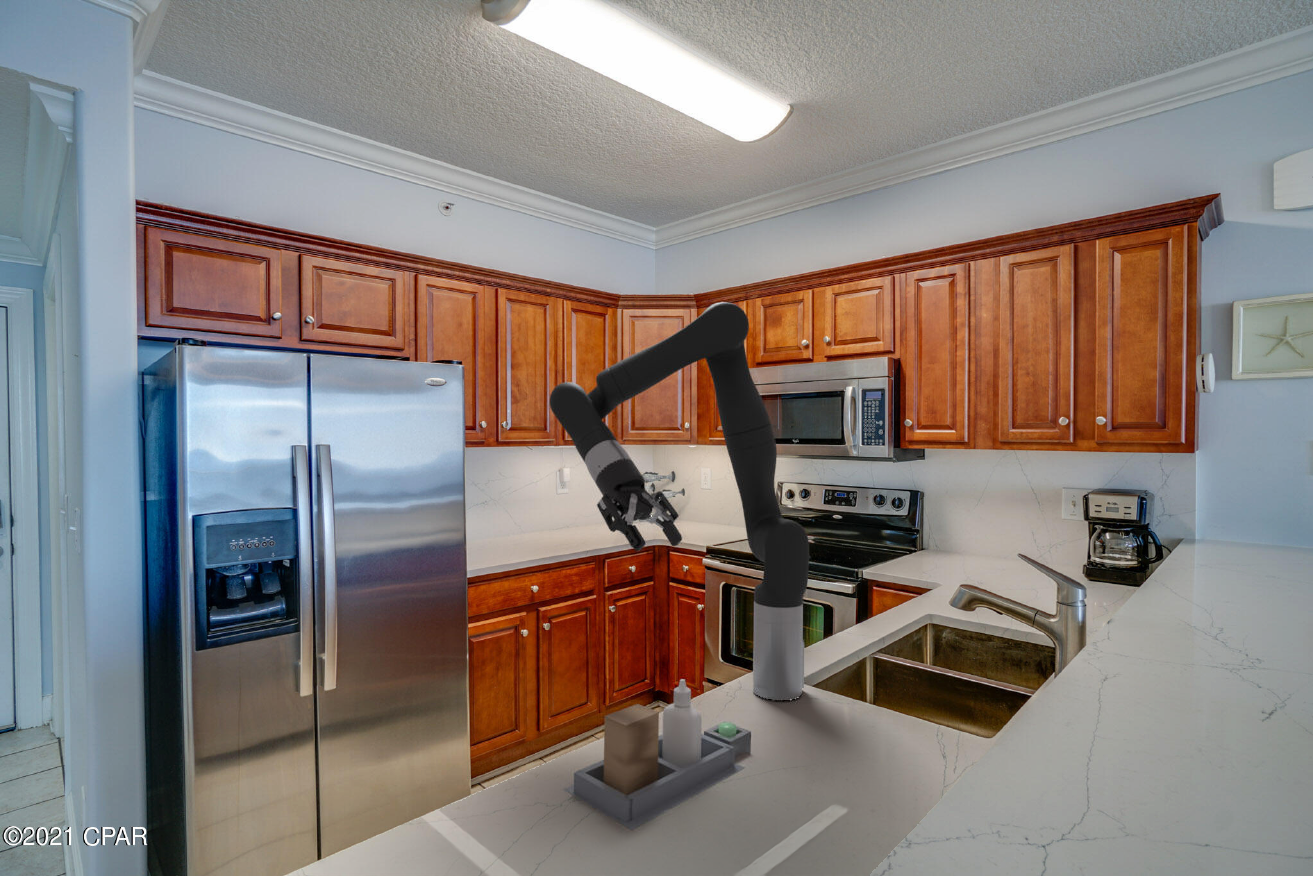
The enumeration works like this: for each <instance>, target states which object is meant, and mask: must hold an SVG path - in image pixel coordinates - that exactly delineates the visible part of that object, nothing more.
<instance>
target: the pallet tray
mask: <svg viewBox="0 0 1313 876" xmlns="http://www.w3.org/2000/svg"><path fill="white" fill-rule="evenodd" d="M662 742H663V733H662V734H661V735H659V736H658V781H656V782H654V783H652V784H650V785H648V786H646V787H644V788H642V789H640V790H638V791H636V792H634V793H632V794H630V795H628V796H626V795H624V794H623V793H621V792H619V791H617V790H615V789H614V788H612V787H610V786H608V785H606V784H605V783H604V759H603V760H599V761H598V762H596V763H593V764H591V765H589V766H586V767H584V768H582V769H579V770H577V771H574V772H573V784H572V785H569V786H568V787H565V788H563V790H564V791H565V792H567V793H569V794H570V795H572V796H573V797H576V798H577V799H578V800H581V801H582V802H584V803H585V804H587V805H588V806H591V807H592V808H594V809H596V810H597V811H599V812H601V813H602V814H604V815H606V816H607V817H609V818H610V819H612V820H614V821H616V822H617V823H619V824H621V825H622V826H624V827H625V828H627V829H629V830H631V831H633V830H635V829H637V828H638V827H640V826H642V825H644V824H646V823H647V822H650V821H651V820H653V819H655V818H657V817H658V816H660V815H662V814H664V813H666V812H667V811H670V810H671V809H673V808H675V807H677V806H679V805H680V804H682V803H684V802H685V801H687V800H689V799H691V798H693V797H694V796H697V795H699V794H700V793H702V792H703V791H704V792H705V791H706V790H707V789H709V788H711V787H712V786H715V785H716V784H718V783H720V782H722V781H724V780H725V779H727V778H730V777H731V776H733V775H734V774H736V773H739V772H740V771H742V770H743V769H745V767H744V766H743V765H740V764H738V763H736V762H735V757H734V747H733V746H730V745H728V744H725V743H723V742H720V741H718V740H715V739H713V738H711V737H708V736H706V735H704V733H701V759H700V760H698V761H696V762H694V763H692V764H690V765H688V766H686V767H684V768H680V767H678V766H676V765H674V764H672V763H670V762H667V761H665V760H663V759H662Z"/></svg>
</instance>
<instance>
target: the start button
mask: <svg viewBox="0 0 1313 876" xmlns="http://www.w3.org/2000/svg"><path fill="white" fill-rule="evenodd" d="M723 722H724V723H723ZM723 722H720V723H718V724H719V734H721V735H723V736H726V737H728V738H730V737H732V736H734V735H736V726H737V725H736V724H735V723H733V722H728V721H723Z"/></svg>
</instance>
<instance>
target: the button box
mask: <svg viewBox="0 0 1313 876" xmlns="http://www.w3.org/2000/svg"><path fill="white" fill-rule="evenodd" d="M724 722H725V721H723V722H722V723H724ZM719 724H720V723H718V724H716V725H715V726H712V727H710V728H707V729H705V730H704V731H703V735H706V736H708V737H711V738H713V739H715V740H718V741H720V742H723V743H725V744H728V745H730V746H733V747H734V758H736V757H737V756H740V755H741V754H743V753H747V754H748V755H751V753H752V748H751V747H752V744H751V743H752V731H750V730H748V729H745V728H743V727H740V726H737V725H736V735H734V736H732V737H730V738H728V737H726V736H723V735H721V734H719Z"/></svg>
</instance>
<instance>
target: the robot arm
mask: <svg viewBox="0 0 1313 876" xmlns="http://www.w3.org/2000/svg"><path fill="white" fill-rule="evenodd" d="M749 330H750V324H749V318H748V316H747V314H746V312H745V311H744V310H743V309H742V307H740V306H739V305H737V304H735V303H732V302H727V301H725V302H724V301H721V302H716V303H713V304H711V305H710V306H708V307H707V308H706V309H704V311H703V312H702V314H700V315H699V316H698V317H697V318H695V319H694V320H693V321H691V322H690V323H689V324H687V325H686V326H685V327H683V328H681V329H680V330H679V331H676V332H675V333H673V334H672V335H670V336H668V337H666V338H665V339H662V340H661V341H659V342H657V343H654V344H653V345H651V346H649V347H646V348H644V349H642V350H640V351H639V352H635V353H634V354H632V355H630V356H628V357H626V358H624V359H622V360H620V361H618V362H616V363H615V364H613V365H611V366H609V367H606V368H605V369H603V370H602V371H600V372H599V373H598V374H597V376H596V386H595V387H594V388H593V389H592V390H591V391H589V392H588V393H587V392H586V391H585V389H584V388H583V387H582V386H581V385H579V384H577V383H575V382H571V381H570V382H569V381H567V382H562V383H560V384H557V385H556V386H554V388H553V390H552V391H551V393H550V396H549V407H550V410H551V411H552V414H553V415H554V417H555V418H556V419H557V420H558V422H559V424H560V425H561V426H562V427H563V429H564V430H565V432H566V434H567V435H568V436H569V437H570V439H571V441H572V442H573V444H574V445H573V446H574V447H575V448H576V450H577V453H578V454H579V456H580V457H581V459H582V461H583V462H584V464H585V466H586V468H587V471H588V473H589V475H590V477H591V478H592V480H593V481H594V483H595V485H596V487H597V488H598V490H599V492H600V494H601V495H602V496H601V498H600V500H598V502H597V504H596V507H597V509H598V510H599V512H600V515H601V516H602V518H603V520H604V522H605V524H606V526H607V527H608V529H609V530H610V531H611V532H612V533H614V532H616V531H618V532H619V533H620V534H622V535H624V537H625V538H626V540H627V542H628V544H629V545H630V546H631V548H633V550H634V551H635V552H640V551H641V550H642V549H643V548H644V547H645V546H646V540H645V539H644V537H643V535H642V534H641V532H640V531H639V529H638V528H637V526H636V525H635V524H634V522H635V521H638V520H641V521H646V522H648V523H649V524H651V525H653V524H655V525H656V526H658V528H661V531H662V532H663V534H664V535H665V537H666V538H667V540H668V541H669V543H670V545H671V546H672V547H677V546H678V545H679V544H680V543H681V542H682V540H683V536H682V534H681V532H680V531H679V529H678V528H677V526H676V525H675V521H676V520H677V519H678V518H679V513H678V512H677V511H676V509H675V508H674V506H672V504H671V502H670V501H669V499H668V498H667V496H665V494H664V493H663V492H662V491H660V490H658V491H657V492H656V494H652V495H651V494H650V493H649V491H647V490H646V488H645V487H646V484H645V482H646V481H645V478H644V476H643V475H642V473H641V471H640V470H639V468H637V466H636V464H635V463H634V460H632V457H630V455H629V454H628V452H627V450H625V448H624V447H623V446H622V445H621V444H620V442H619V441H618V439H617V438H616V436H615V435H614V433H613V432H612V430H611V429H610V427H608V425H607V424H606V423H605V422H604V421H603V419H604V418H606V417H607V416H608V415H609V414H611V413H612V412H613V411H614V410H615V409H616V408H617V407H618V406H619V405H620V404H622V403H624V402H626V401H628V400H630V399H633V398H635V397H636V396H638V395H640V394H642V393H643V392H646V391H647V390H649V389H650V388H652V387H653V386H656V385H657V384H659V383H660V382H662V381H663V380H665V379H667V378H668V377H670V376H672V375H673V374H674V373H677V372H678V371H680V370H683V369H684V368H686V367H688V366H689V365H692V364H694V363H697V362H698V361H701V360H704V359H705V361H706V364H707V367H708V370H709V372H710V375H711V379H712V382H713V386H714V390H715V392H714V393H715V398H716V404H717V405H716V406H717V411H718V415H719V420H720V425H721V430H722V433H723V438H724V441H725V445H726V449H727V453H728V457H729V459H730V463H731V467H732V470H733V475H734V478H735V482H736V485H737V489H738V493H739V496H740V501H741V504H742V505H741V506H742V510H743V517H744V524H745V531H746V536H747V542H748V546H749V549H750V551H751V553H752V554H753V556H754V557H755V558H756V559H758V560H759V561H760V562H762V563H763V575H762V576H763V577H762V581H761V583H759V584H756V586H755V587H754V591H753V650H752V651H753V652H752V653H753V654H752V657H753V660H752V661H753V662H752V667H753V668H752V671H753V672H752V675H753V676H752V692H753V693H754V694H755V696H757V695H758V696H757V697H759V696H760V698H762V697H763V698H762V699H765V698H766V699H765V700H768V699H772V700H771V701H775V700H781V701H780V702H783V701H782V700H790V699H795V698H797V697H799V696H800V695H801V694H803V691H802V688H804V689H805V641H804V639H803V637H804V635H803V634H804V633H803V632H804V631H803V630H804V627H803V626H804V622H803V621H804V619H803V618H804V617H803V615H804V595H805V593H806V591H807V587H808V579H809V566H810V565H809V564H810V542H809V537H808V533H807V531H806V530H805V529H804V527H803V526H802V525H801V524H800V523H799V522H796V521H794V520H791V519H786V518H784V517H783V515H782V511H781V509H780V505H779V501H778V498H777V494H776V491H775V490H776V488H775V476H776V468H777V456H778V455H777V453H778V452H777V451H778V450H777V442H776V438H775V435H774V431H773V426H772V423H771V419H770V415H769V413H768V410H767V408H766V406H765V403H764V401H763V398H762V396H761V394H760V392H759V390H758V388H757V386H756V384H755V382H754V380H753V378H752V375H751V371H750V368H749V364H748V358H747V354H746V353H747V352H746V348H745V340H746V339H747V337H748V333H749ZM653 510H655V512H654V513H653ZM652 513H653V514H652ZM659 517H661V519H662V520H661V519H660V518H659ZM801 696H802V695H801ZM795 700H796V699H795ZM790 701H791V700H790Z"/></svg>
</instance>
